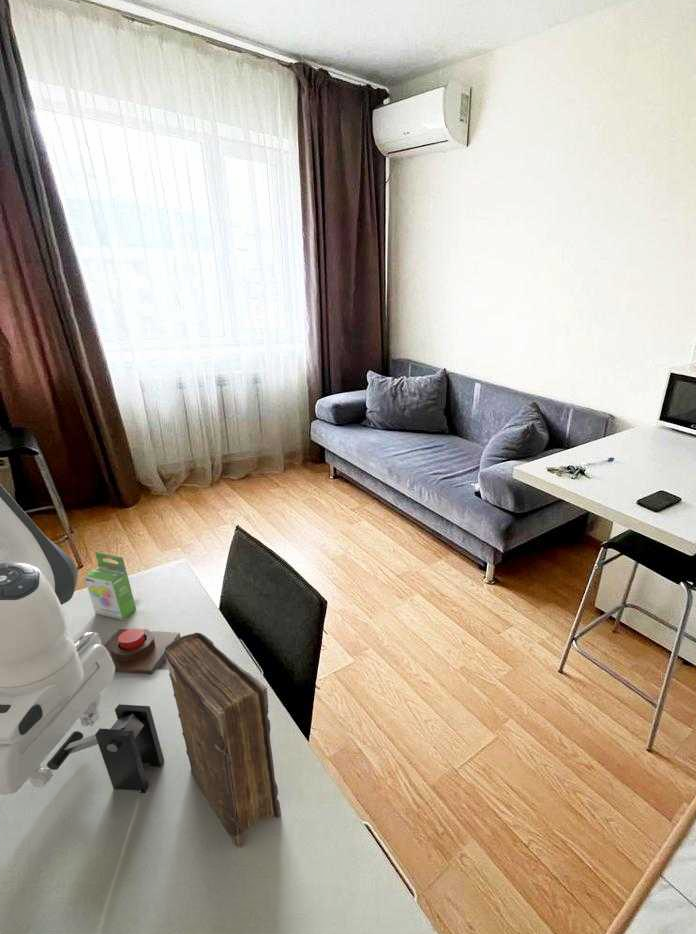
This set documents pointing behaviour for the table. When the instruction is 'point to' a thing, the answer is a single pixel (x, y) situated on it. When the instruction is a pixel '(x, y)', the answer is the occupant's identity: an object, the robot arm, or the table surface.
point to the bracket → (130, 750)
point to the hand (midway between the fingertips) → (68, 750)
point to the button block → (141, 652)
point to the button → (131, 639)
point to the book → (224, 732)
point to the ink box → (110, 588)
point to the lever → (91, 740)
